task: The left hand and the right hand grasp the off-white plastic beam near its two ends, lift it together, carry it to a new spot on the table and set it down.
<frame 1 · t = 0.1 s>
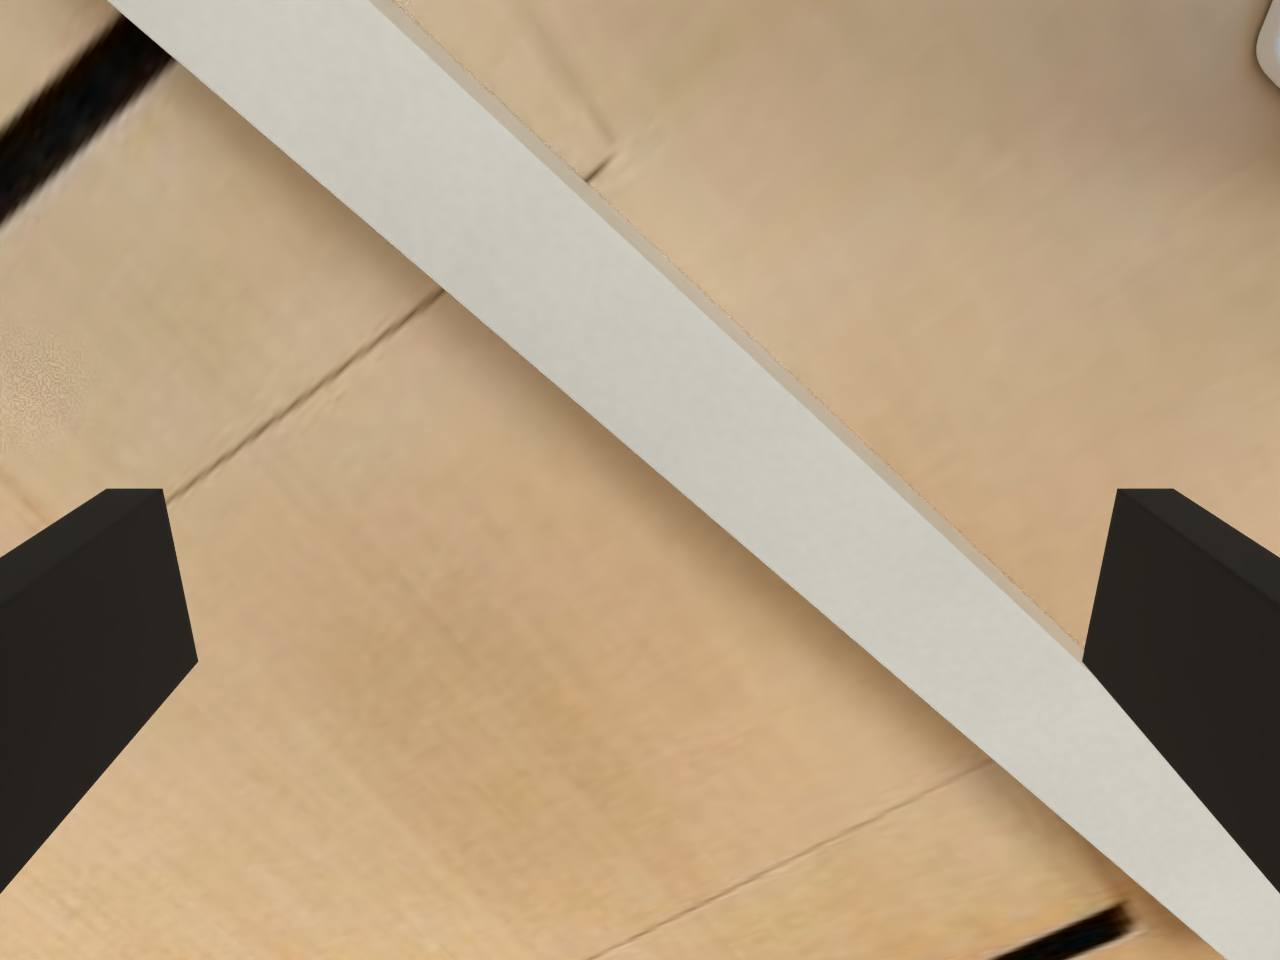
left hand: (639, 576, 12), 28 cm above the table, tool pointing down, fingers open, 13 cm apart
beam: (777, 445, 41), on the table
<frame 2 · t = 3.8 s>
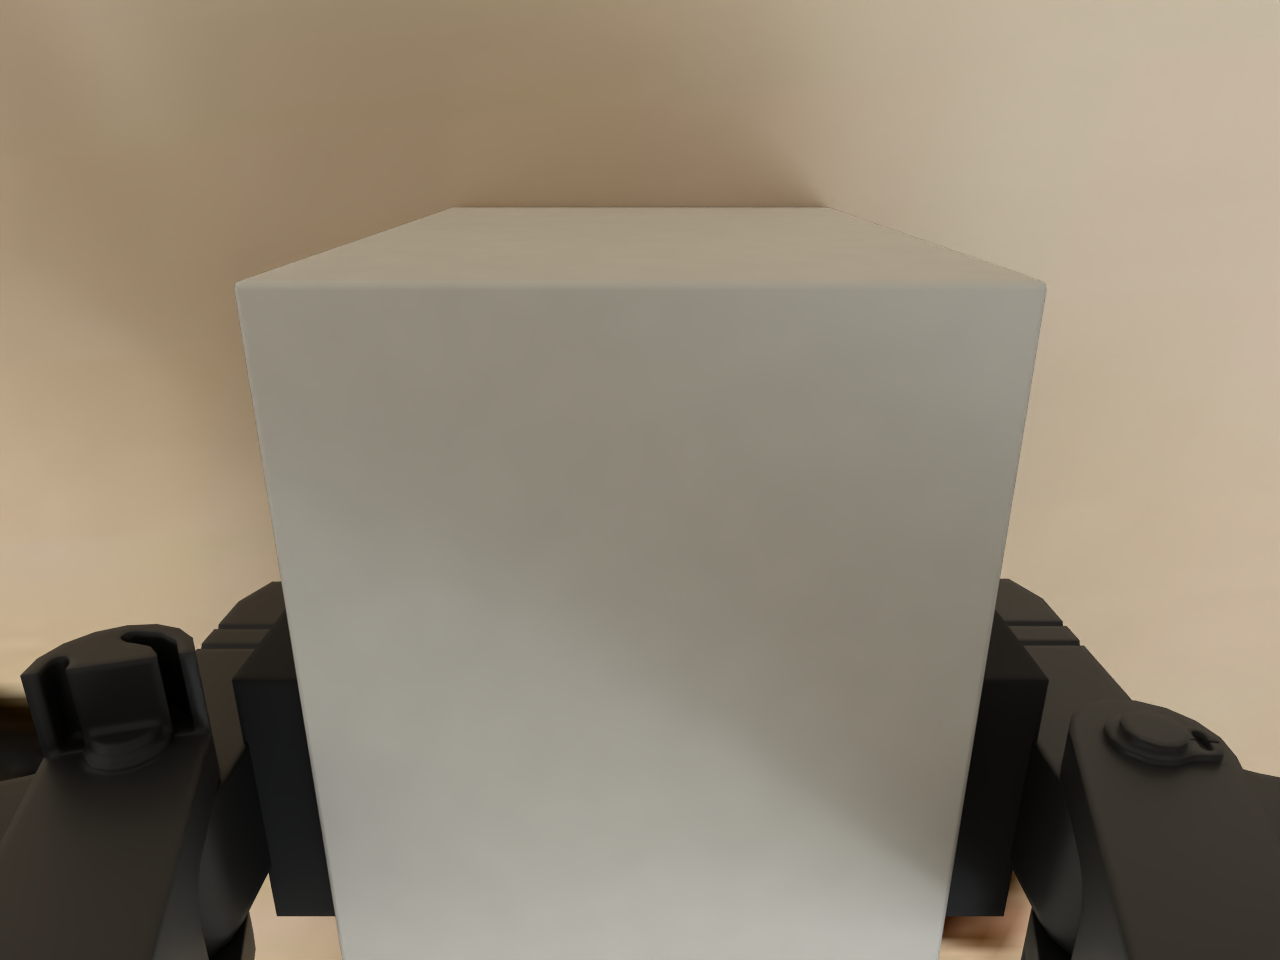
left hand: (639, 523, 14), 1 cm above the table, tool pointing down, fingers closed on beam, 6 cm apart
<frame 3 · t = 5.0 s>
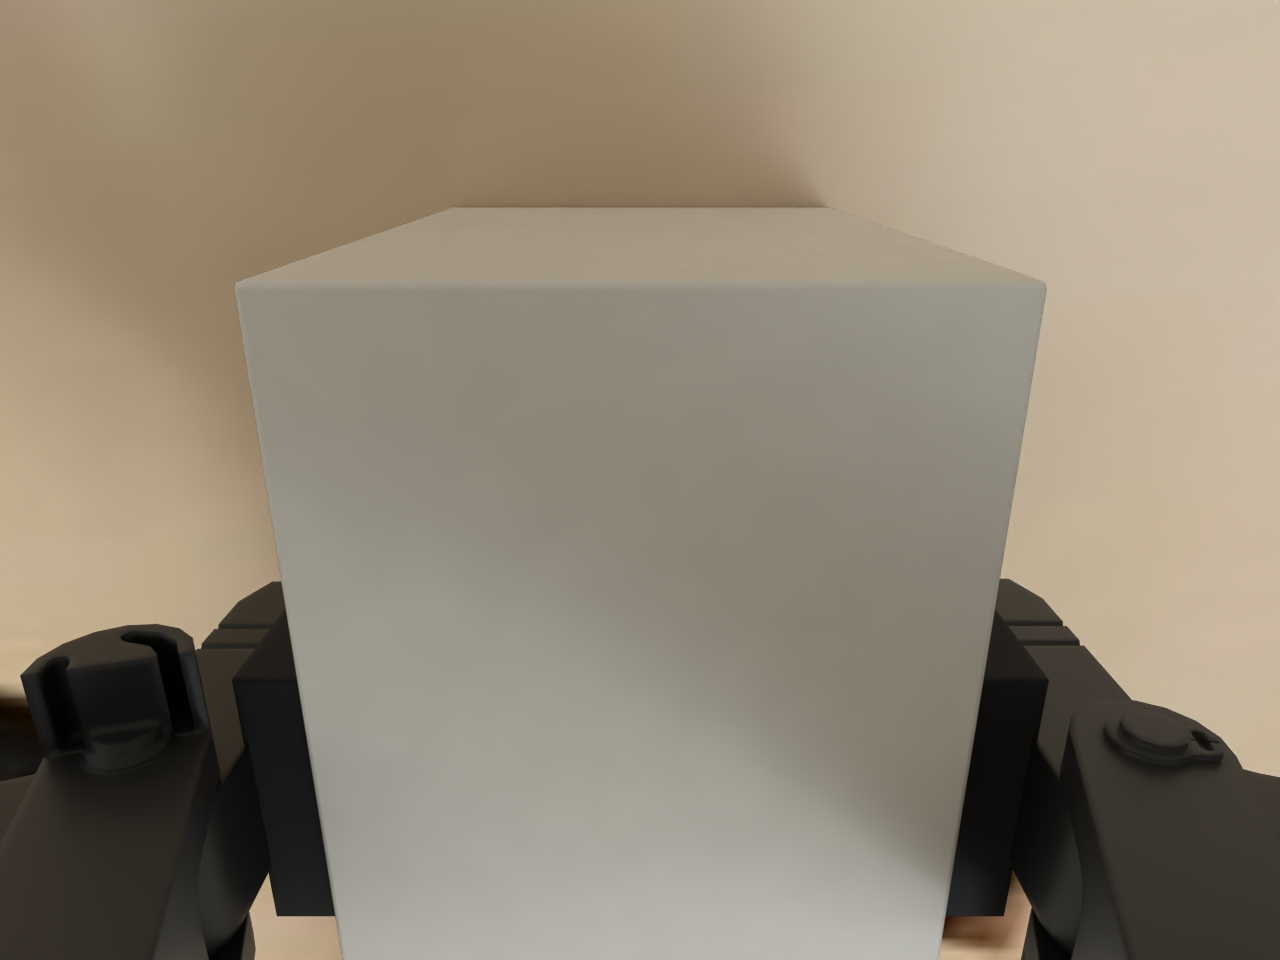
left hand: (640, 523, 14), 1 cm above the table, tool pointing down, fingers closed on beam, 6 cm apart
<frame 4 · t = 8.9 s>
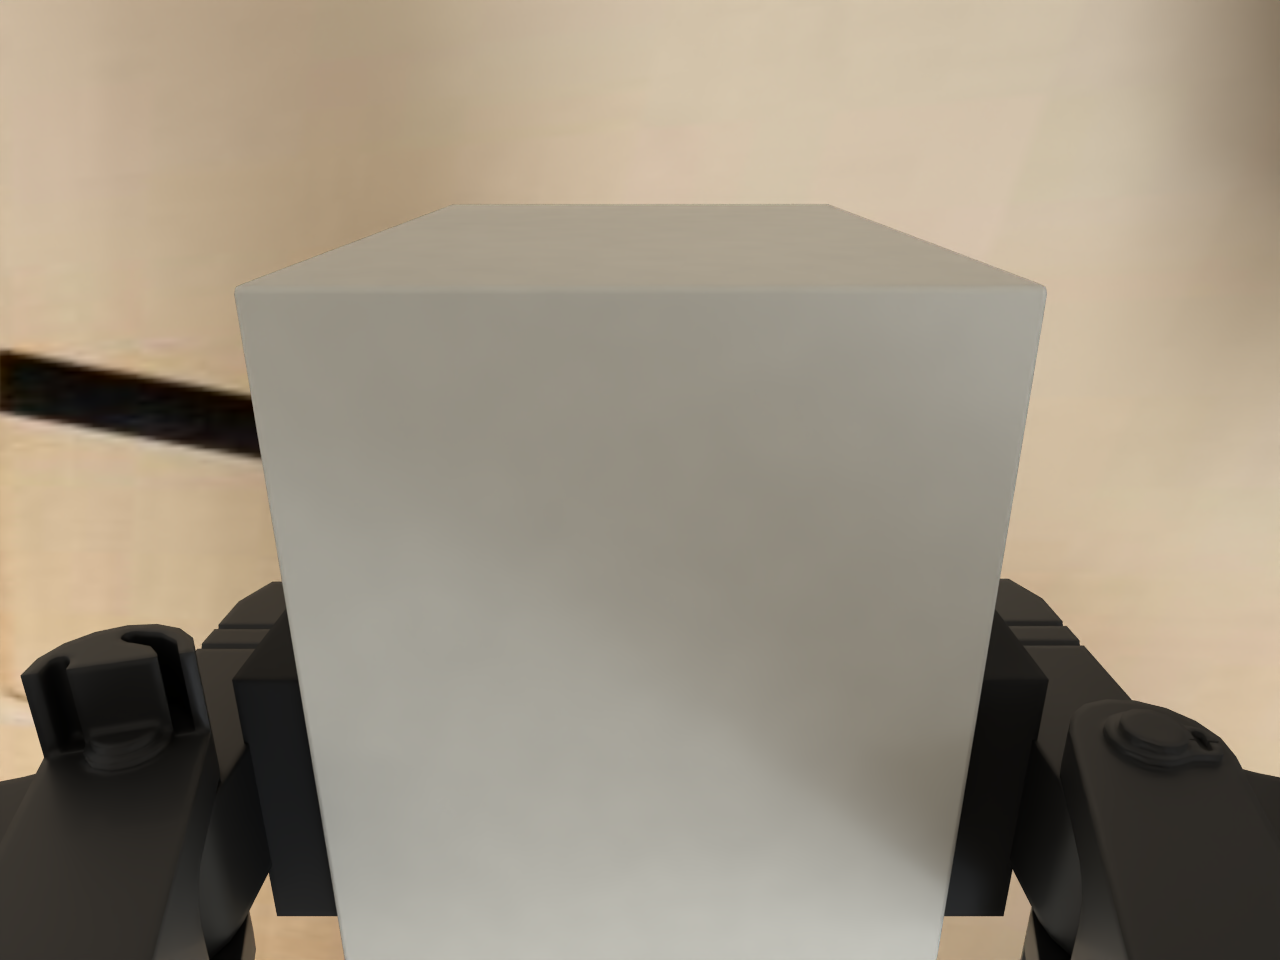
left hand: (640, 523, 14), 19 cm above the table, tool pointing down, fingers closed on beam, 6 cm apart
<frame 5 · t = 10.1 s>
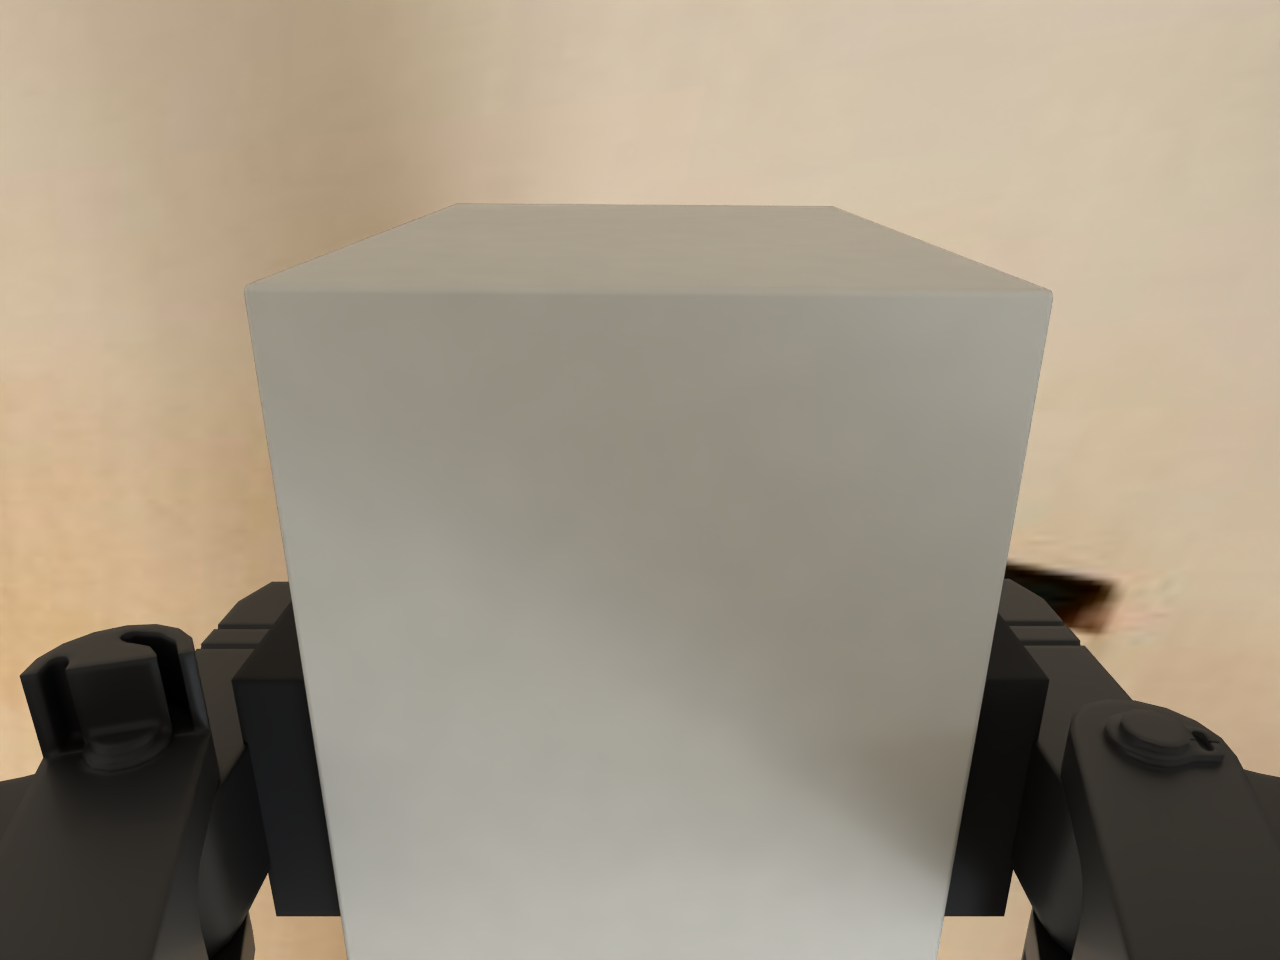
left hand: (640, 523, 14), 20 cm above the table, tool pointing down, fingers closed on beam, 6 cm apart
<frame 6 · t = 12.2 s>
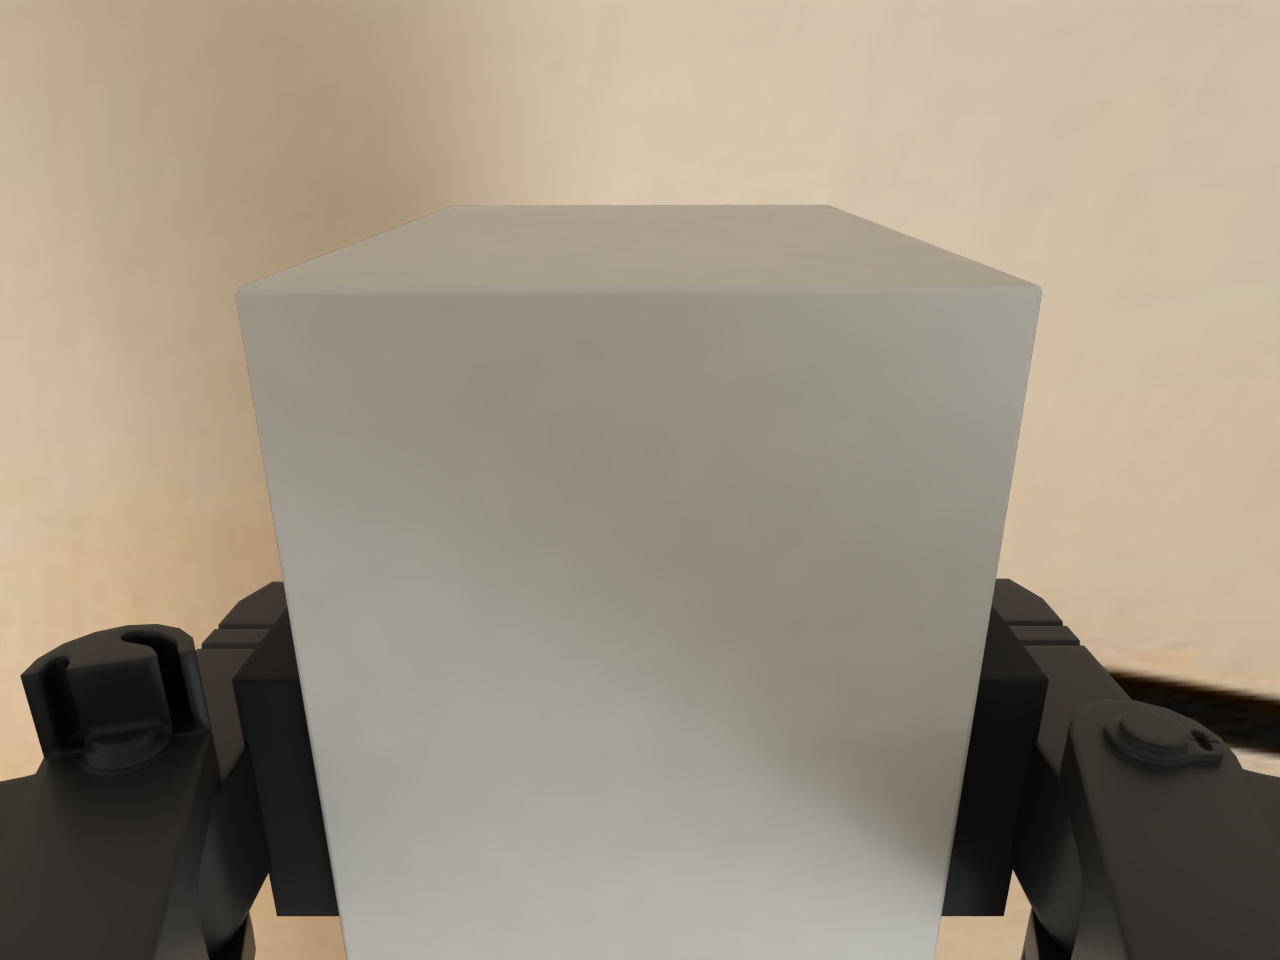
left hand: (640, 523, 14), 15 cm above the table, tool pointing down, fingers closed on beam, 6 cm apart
when the left hand's fingers open (2 cm above the table, at t = 14.2 s): beam stays where it is, held by the right hand.
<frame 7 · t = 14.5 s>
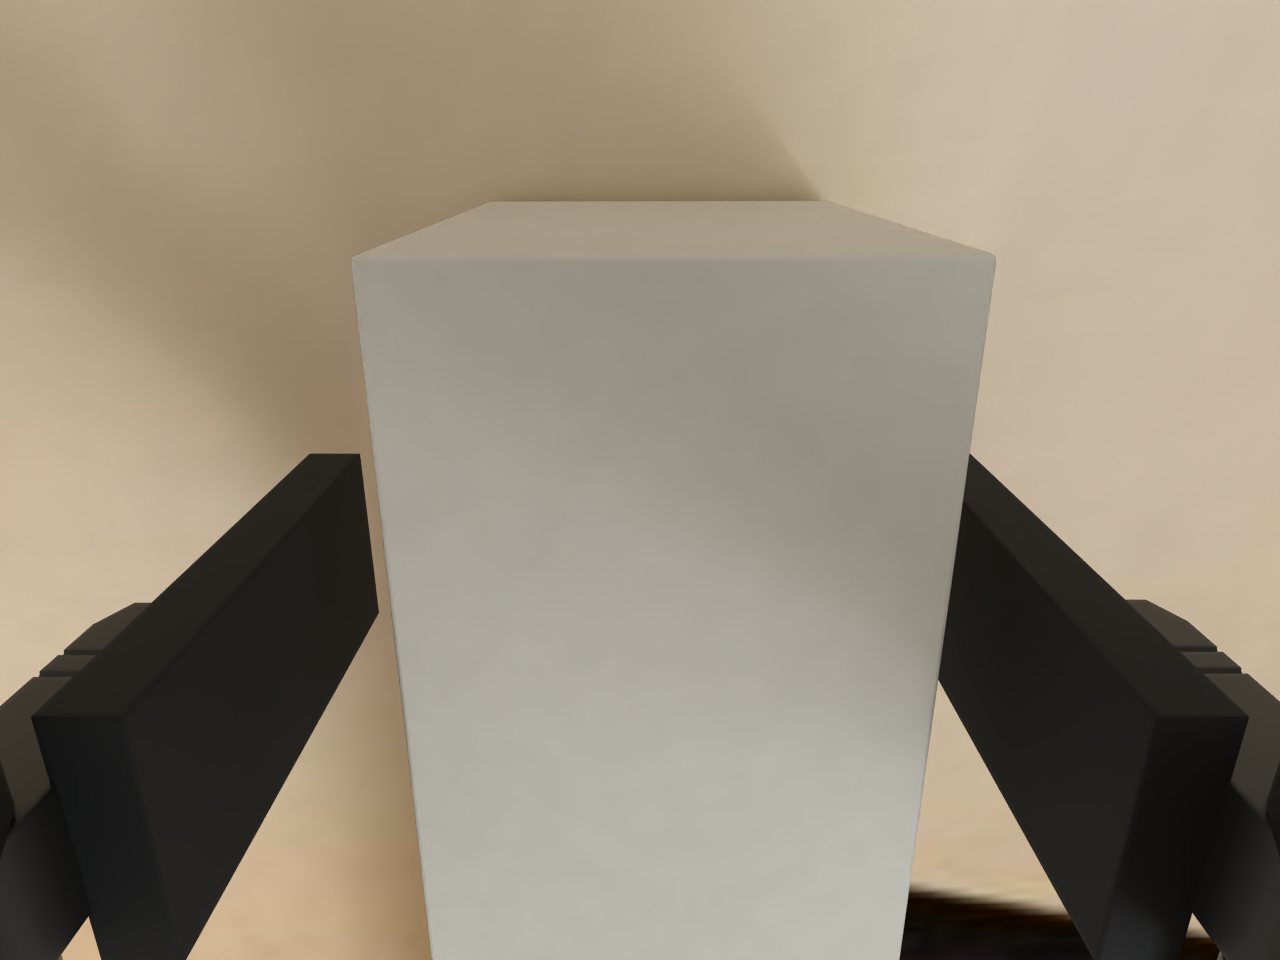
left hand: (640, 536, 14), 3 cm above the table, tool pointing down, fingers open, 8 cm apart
when the right hand's fingers open (4 cm above the table, at t = 14.5 s): beam stays where it is, on the table.
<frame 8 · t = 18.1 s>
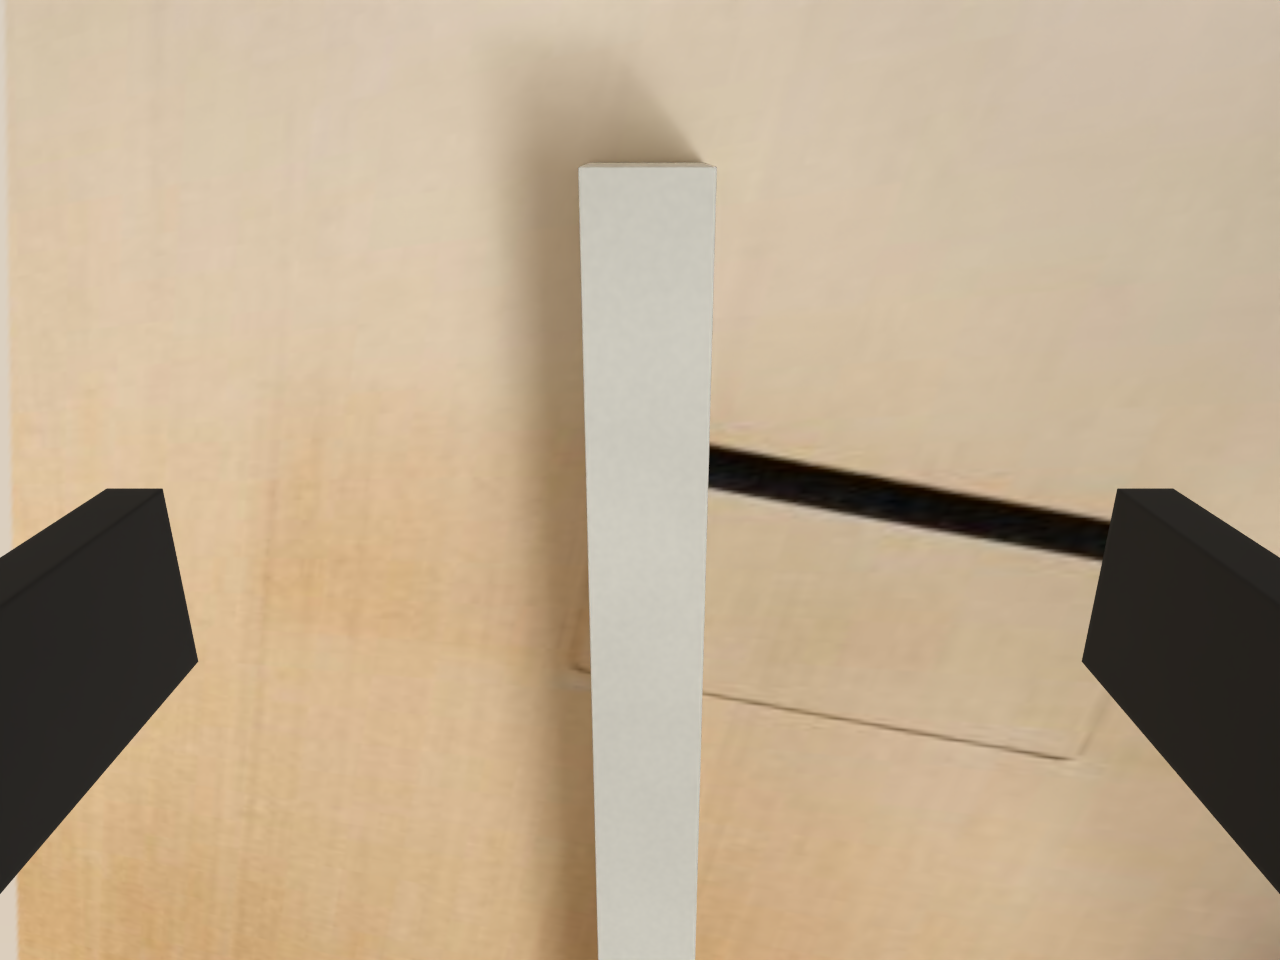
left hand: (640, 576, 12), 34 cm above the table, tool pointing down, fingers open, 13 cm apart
beam: (645, 844, 58), on the table
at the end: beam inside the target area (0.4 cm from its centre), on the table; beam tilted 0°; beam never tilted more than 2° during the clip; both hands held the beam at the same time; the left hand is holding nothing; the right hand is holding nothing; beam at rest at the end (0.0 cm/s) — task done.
